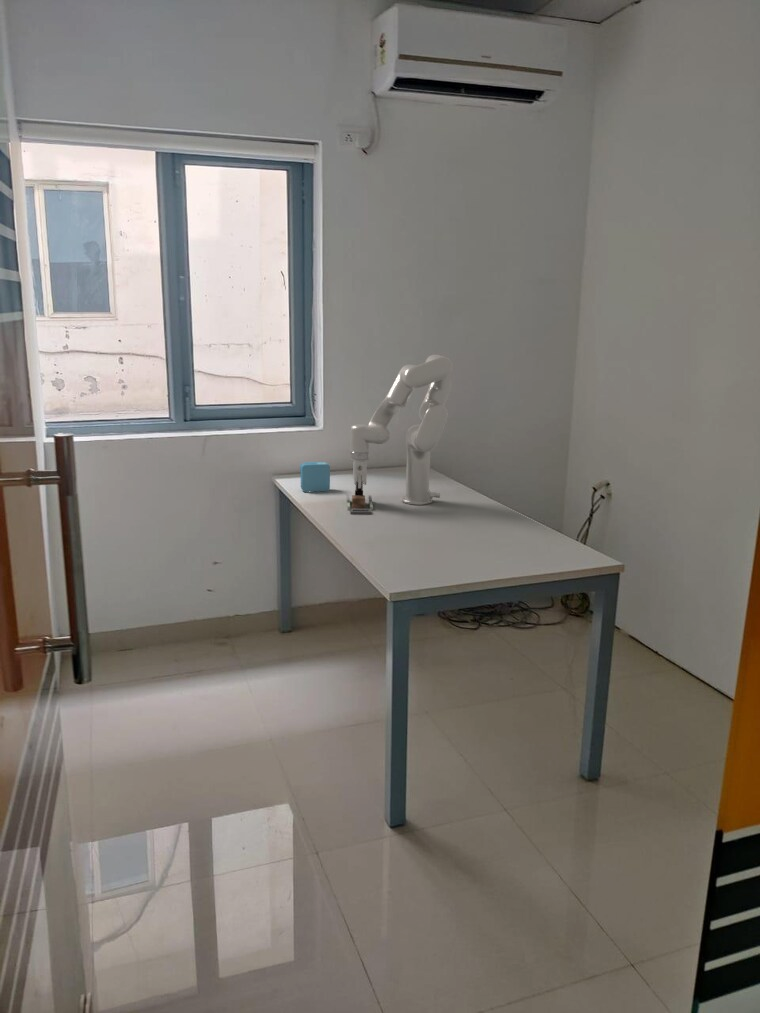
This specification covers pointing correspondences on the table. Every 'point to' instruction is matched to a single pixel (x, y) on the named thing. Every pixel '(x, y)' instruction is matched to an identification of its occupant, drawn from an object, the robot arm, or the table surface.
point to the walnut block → (358, 501)
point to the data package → (315, 476)
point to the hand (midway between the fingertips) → (358, 500)
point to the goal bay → (349, 506)
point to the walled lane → (369, 499)
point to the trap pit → (360, 511)
